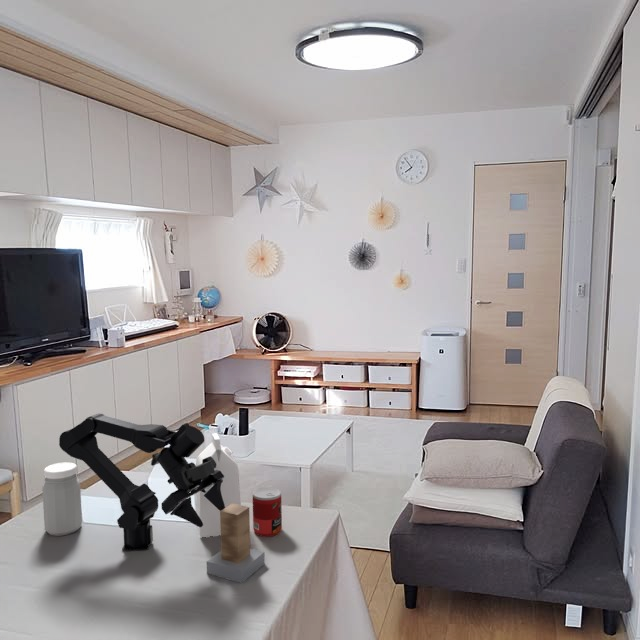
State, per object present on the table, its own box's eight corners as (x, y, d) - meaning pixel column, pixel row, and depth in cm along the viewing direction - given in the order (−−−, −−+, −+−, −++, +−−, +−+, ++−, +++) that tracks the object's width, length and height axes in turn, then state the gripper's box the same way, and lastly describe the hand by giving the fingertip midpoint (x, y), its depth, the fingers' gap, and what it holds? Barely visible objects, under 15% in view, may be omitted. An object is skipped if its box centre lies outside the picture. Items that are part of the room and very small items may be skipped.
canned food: (277, 538, 164) (277, 499, 163) (249, 535, 165) (248, 496, 164) (285, 526, 171) (284, 488, 170) (257, 523, 173) (257, 486, 172)
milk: (195, 520, 175) (192, 432, 173) (235, 514, 179) (232, 428, 176) (199, 538, 164) (197, 444, 161) (242, 532, 167) (240, 440, 165)
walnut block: (221, 558, 147) (220, 511, 145) (233, 550, 151) (232, 503, 150) (238, 563, 144) (237, 514, 143) (250, 554, 149) (249, 507, 148)
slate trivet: (206, 573, 146) (206, 561, 146) (231, 555, 155) (230, 543, 154) (241, 583, 141) (241, 570, 141) (264, 563, 150) (264, 552, 150)
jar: (79, 519, 177) (76, 458, 175) (85, 531, 169) (82, 468, 167) (42, 526, 172) (38, 465, 170) (47, 540, 163) (43, 475, 162)
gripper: (169, 461, 142) (208, 515, 138) (217, 439, 159) (253, 487, 155) (144, 487, 146) (182, 541, 143) (194, 464, 163) (228, 511, 159)
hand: (213, 518), depth 150 cm, fingers open, 9 cm apart
